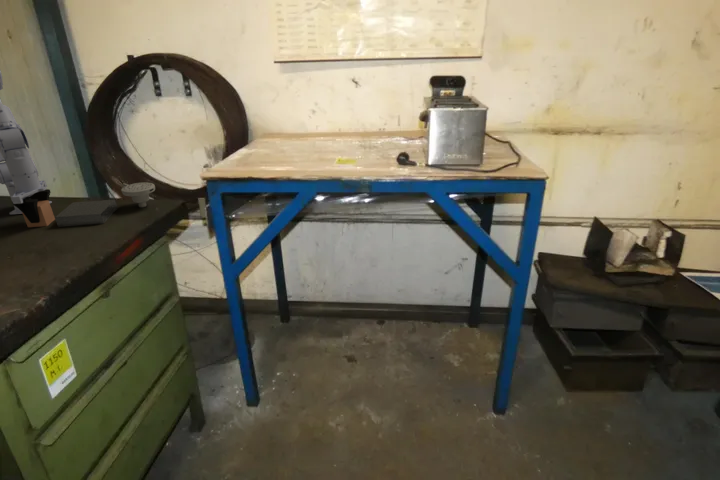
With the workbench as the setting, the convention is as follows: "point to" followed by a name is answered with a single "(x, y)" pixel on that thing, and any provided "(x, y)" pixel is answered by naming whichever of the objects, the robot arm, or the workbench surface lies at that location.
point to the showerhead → (138, 192)
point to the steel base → (86, 213)
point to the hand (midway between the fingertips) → (40, 218)
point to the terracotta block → (42, 215)
